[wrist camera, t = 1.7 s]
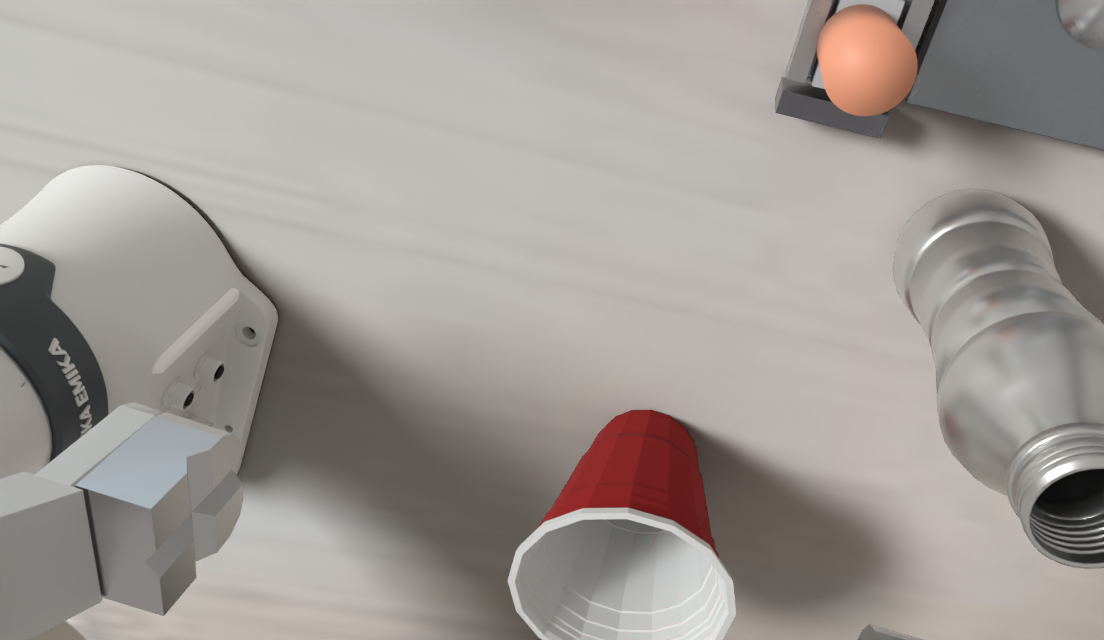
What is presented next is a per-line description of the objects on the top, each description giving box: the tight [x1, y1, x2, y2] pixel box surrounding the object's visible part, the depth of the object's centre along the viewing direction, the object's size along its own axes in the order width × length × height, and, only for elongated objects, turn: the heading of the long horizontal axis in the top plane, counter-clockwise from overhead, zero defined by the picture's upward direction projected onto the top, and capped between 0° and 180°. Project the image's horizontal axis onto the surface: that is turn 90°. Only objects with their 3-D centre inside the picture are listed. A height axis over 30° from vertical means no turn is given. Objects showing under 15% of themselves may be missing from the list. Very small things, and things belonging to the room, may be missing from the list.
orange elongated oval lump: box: [811, 0, 918, 116], centre depth 34 cm, size 4×3×7 cm
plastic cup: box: [507, 410, 736, 640], centre depth 45 cm, size 11×11×12 cm
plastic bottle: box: [893, 189, 1104, 568], centre depth 32 cm, size 6×7×20 cm
